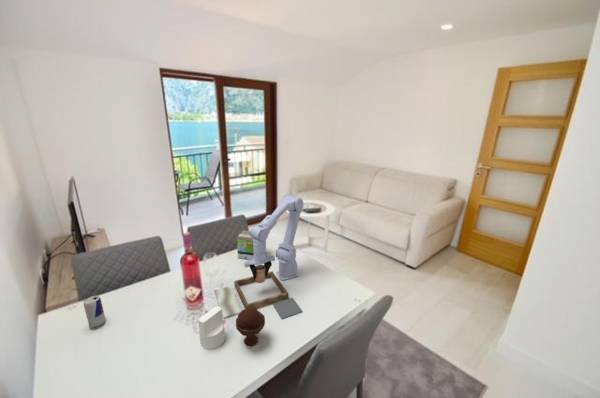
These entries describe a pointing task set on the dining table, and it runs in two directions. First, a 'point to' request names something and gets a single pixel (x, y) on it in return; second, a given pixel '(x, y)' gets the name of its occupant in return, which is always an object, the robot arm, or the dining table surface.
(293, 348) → the dining table surface
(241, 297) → the frame
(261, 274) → the terracotta pot
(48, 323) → the dining table surface
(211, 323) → the cylinder with rectangular tab
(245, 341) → the ice cream bowl
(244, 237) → the tea box
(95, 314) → the energy drink
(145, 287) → the dining table surface
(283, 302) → the mat
